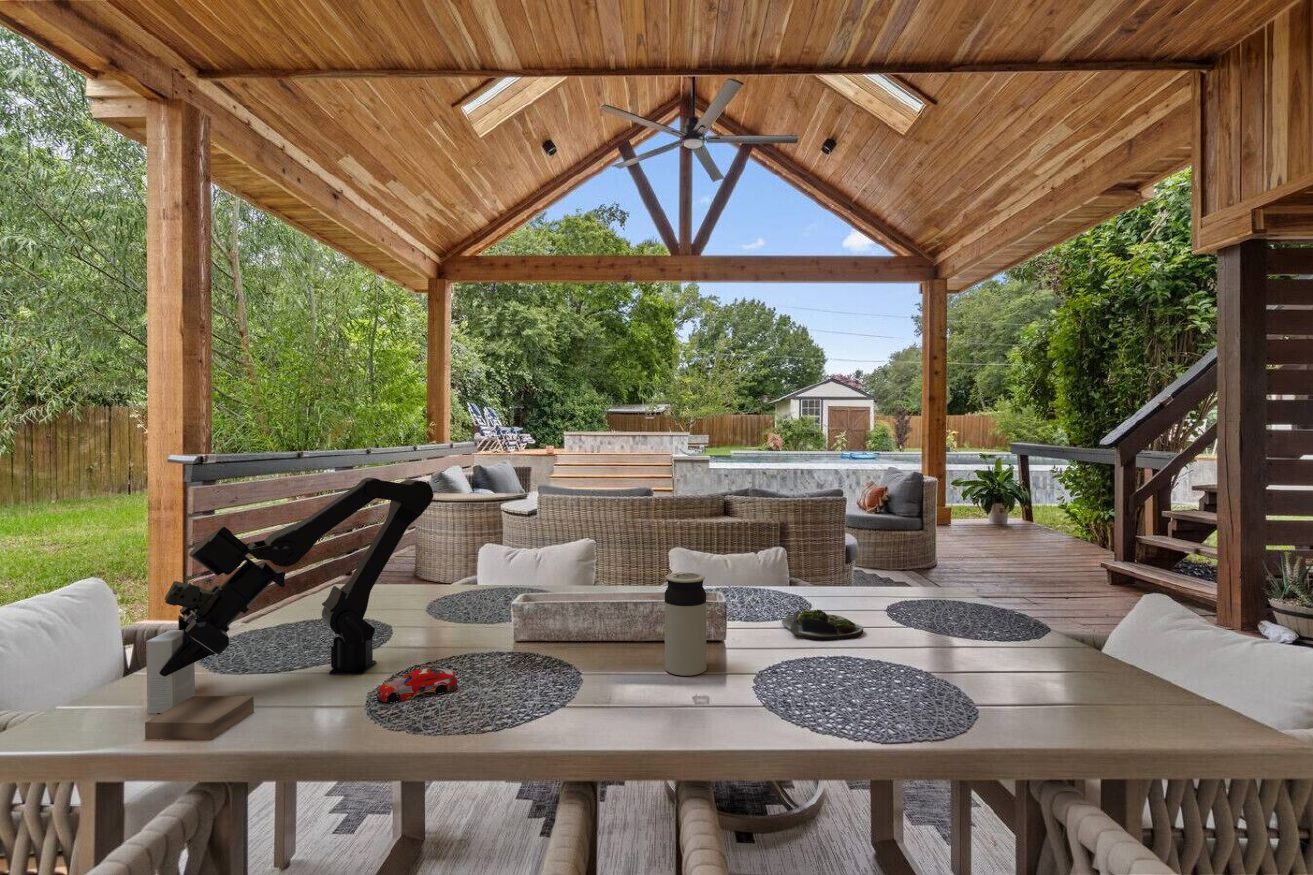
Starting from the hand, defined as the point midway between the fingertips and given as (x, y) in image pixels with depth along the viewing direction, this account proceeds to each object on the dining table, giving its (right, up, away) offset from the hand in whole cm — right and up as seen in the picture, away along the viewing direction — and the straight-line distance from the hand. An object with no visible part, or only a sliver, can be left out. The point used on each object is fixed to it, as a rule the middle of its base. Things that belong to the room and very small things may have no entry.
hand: (160, 668), depth 110 cm
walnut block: (+11, -7, -6) cm, 14 cm away
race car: (+40, -7, +7) cm, 41 cm away
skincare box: (+1, -7, +1) cm, 7 cm away
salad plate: (+120, -7, +44) cm, 127 cm away
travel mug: (+87, -7, +18) cm, 89 cm away
